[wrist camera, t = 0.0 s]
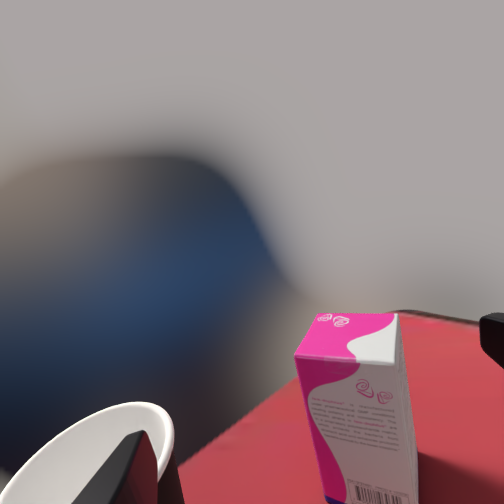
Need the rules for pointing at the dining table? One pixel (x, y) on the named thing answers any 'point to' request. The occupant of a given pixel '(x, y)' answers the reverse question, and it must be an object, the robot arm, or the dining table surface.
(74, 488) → the dixie cup
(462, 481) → the dining table surface
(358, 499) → the supplement box
